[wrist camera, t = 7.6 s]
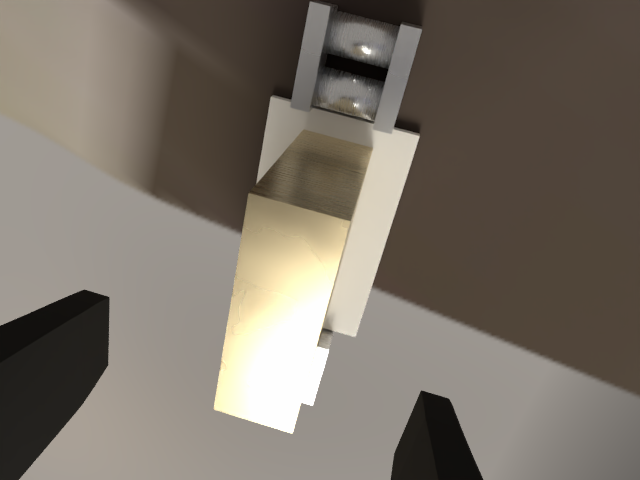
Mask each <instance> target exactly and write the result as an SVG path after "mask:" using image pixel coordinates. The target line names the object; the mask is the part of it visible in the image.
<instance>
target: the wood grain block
mask: <svg viewBox="0 0 640 480" xmlns="http://www.w3.org/2000/svg"><path fill="white" fill-rule="evenodd" d="M372 151H373V148H371V147H368V146H364V145H360V144H357V143H353V142H349V141H345V140H342V139H338V138H334V137H330V136H327V135H323V134H319V133H315V132H312V131H308V130H304V129H303V130H302V132H301V133H300V134H299V135H298V136H297V137H296V139H295V140H294V141H293V142H292V143H291V144H290V145H289V147H288V148H287V149H286V150H285V151H284V152H283V154H282V155H281V156H280V157H279V158H278V159H277V161H276V162H275V163H274V164H273V165H272V166H271V168H270V169H269V170H268V171H267V172H266V173H265V175H264V176H263V177H262V178H261V179H260V180H259V182H258V183H257V184H256V185H255V186H254V187H253V189H252V190H251V191H250V192H249V194H248V200H247V206H246V212H245V219H244V225H243V231H242V237H241V243H240V250H239V257H238V263H237V268H236V274H235V281H234V287H233V293H232V299H231V306H230V311H229V318H228V324H227V330H226V336H225V343H224V349H223V355H222V361H221V367H220V373H219V380H218V386H217V392H216V398H215V404H214V410H217V411H221V412H224V413H227V414H231V415H234V416H237V417H240V418H243V419H247V420H250V421H253V422H256V423H260V424H263V425H266V426H269V427H273V428H276V429H279V430H283V431H286V432H289V433H293V430H294V426H295V423H296V419H297V416H298V413H299V409H300V406H301V402H302V399H303V396H304V392H305V389H306V385H307V382H308V378H309V375H310V372H311V368H312V365H313V361H314V358H315V354H316V351H317V348H318V344H319V341H320V337H321V334H322V330H323V327H324V324H325V320H326V317H327V313H328V310H329V306H330V302H331V299H332V295H333V292H334V288H335V284H336V281H337V277H338V274H339V270H340V266H341V263H342V259H343V256H344V252H345V248H346V245H347V241H348V237H349V234H350V230H351V227H352V223H353V219H354V216H355V212H356V209H357V205H358V201H359V198H360V194H361V191H362V187H363V183H364V180H365V176H366V173H367V169H368V165H369V162H370V158H371V155H372Z"/></svg>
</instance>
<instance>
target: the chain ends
mask: <svg viewBox="0 0 640 480" xmlns="http://www.w3.org/2000/svg"><path fill="white" fill-rule="evenodd" d="M337 8H338V5H335V4H331V3H327V2H323V1H310V4H309V9H308V14H307V20H306V25H305V30H304V36H303V41H302V46H301V52H300V57H299V62H298V68H297V73H296V78H295V84H294V89H293V94H292V100H291V105H290V108H294V109H297V110H301V111H305V112H310V111H311V110H312V109H313V108H314V106H318V107H322V108H326V109H330V110H334V111H337V112H341V113H345V114H349V115H352V116H356V117H360V118H364V119H368V120H371V121H375V122H374V125H373V130H377V131H380V132H384V133H388V134H392V132H393V128H394V125H395V121H396V118H397V114H398V111H399V107H400V104H401V101H402V97H403V94H404V90H405V87H406V83H407V80H408V77H409V73H410V70H411V66H412V63H413V59H414V56H415V53H416V49H417V46H418V42H419V39H420V35H421V32H422V26H418V25H414V24H410V23H406V22H402V23H401V26H397V25H393V24H389V23H385V22H381V21H377V20H373V19H369V18H365V17H361V16H357V15H353V14H349V13H345V12H341V11H337ZM328 54H332V55H336V56H340V57H344V58H348V59H352V60H355V61H359V62H363V63H367V64H371V65H375V66H379V67H383V68H386V69H389V70H388V74H387V77H386V81H385V82H383V81H379V80H375V79H371V78H367V77H364V76H360V75H356V74H352V73H348V72H344V71H340V70H337V69H333V68H329V67H325V65H326V60H327V55H328ZM333 332H334V331H332V330H329V329H325V328H323V330H322V334H321V337H320V341H319V344H318V348H317V351H316V354H315V358H314V361H313V365H312V368H311V372H310V375H309V378H308V382H307V385H306V389H305V392H304V396H303V399H302V403H306V404H309V405H313V403H314V399H315V396H316V392H317V389H318V386H319V381H320V379H321V375H322V372H323V368H324V365H325V362H326V358H327V355H328V351H329V347H330V344H331V339H332V336H333Z"/></svg>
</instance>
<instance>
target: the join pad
mask: <svg viewBox="0 0 640 480" xmlns="http://www.w3.org/2000/svg"><path fill="white" fill-rule="evenodd" d="M290 105H291V100H290V99H286V98H283V97H279V96H275V95H273V96H271V99H270V105H269V111H268V117H267V123H266V129H265V135H264V140H263V146H262V152H261V158H260V164H259V170H258V176H257V182H256V184H257V183H258V182H259V180H260V179H261V178H262V177H263V176H264V175H265V173H266V172H267V171H268V170H269V169H270V168H271V166H272V165H273V164H274V163H275V162H276V161H277V159H278V158H279V157H280V156H281V155H282V154H283V152H284V151H285V150H286V149H287V148H288V147H289V145H290V144H291V143H292V142H293V141H294V140H295V139H296V137H297V136H298V135H299V134H300V133H301V132H302V130H303V129H304V130H308V131H312V132H315V133H319V134H323V135H327V136H330V137H334V138H338V139H342V140H345V141H349V142H353V143H357V144H360V145H364V146H368V147H371V148H373V151H372V155H371V158H370V162H369V165H368V169H367V173H366V176H365V180H364V183H363V187H362V191H361V194H360V198H359V201H358V205H357V209H356V212H355V216H354V219H353V223H352V227H351V230H350V234H349V237H348V241H347V245H346V248H345V252H344V256H343V259H342V263H341V266H340V270H339V274H338V277H337V281H336V284H335V288H334V292H333V295H332V299H331V302H330V306H329V310H328V313H327V317H326V320H325V324H324V327H323V328H325V329H329V330H332V331H336V332H340V333H342V334H346V335H349V336H353V337H356V334H357V331H358V328H359V325H360V322H361V318H362V316H363V312H364V309H365V306H366V303H367V300H368V296H369V294H370V290H371V287H372V284H373V281H374V278H375V275H376V272H377V269H378V265H379V262H380V259H381V256H382V253H383V250H384V247H385V243H386V240H387V237H388V234H389V231H390V228H391V225H392V222H393V218H394V215H395V212H396V209H397V206H398V203H399V200H400V196H401V193H402V190H403V187H404V184H405V181H406V178H407V175H408V171H409V168H410V165H411V162H412V159H413V156H414V153H415V149H416V146H417V143H418V140H419V137H420V134H419V133H415V132H411V131H407V130H404V129H400V128H396V127H394V128H393V132H392V134H388V133H384V132H380V131H377V130H373V125H374V122H373V121H370V120H366V119H362V118H358V117H354V116H351V115H347V114H343V113H339V112H335V111H332V110H328V109H324V108H320V107H317V106H314V108H313V109H312V110H311V111H310V112H305V111H301V110H297V109H294V108H290Z"/></svg>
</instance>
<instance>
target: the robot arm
mask: <svg viewBox="0 0 640 480" xmlns="http://www.w3.org/2000/svg"><path fill="white" fill-rule="evenodd" d="M108 341H109V297H107V296H104V295H100V294H97V293H94V292H91V291H87V290H82V291H80V292H77V293H75V294H72V295H70V296H68V297H65V298H63V299H61V300H58V301H56V302H54V303H51V304H49V305H47V306H45V307H43V308H40V309H38V310H36V311H34V312H31V313H29V314H27V315H24V316H22V317H20V318H17V319H15V320H13V321H11V322H8V323H6V324H4V325H1V326H0V480H19V479H20V478H21V476H22V475H23V474H24V473H25V472H26V470H27V469H28V468H29V467H30V466H31V465H32V464H33V462H34V461H35V460H36V459H37V458H38V457H39V455H40V454H41V453H42V452H43V450H44V449H45V448H46V447H47V446H48V445H49V444H50V442H51V441H52V440H53V439H54V438H55V437H56V435H57V434H58V433H59V432H60V431H61V429H62V428H63V427H64V426H65V425H66V423H67V422H68V421H69V420H70V419H71V418H72V416H73V415H74V414H75V413H76V411H77V410H78V409H79V408H80V407H81V405H82V404H83V403H84V401H85V400H86V398H87V397H88V395H89V394H90V392H91V391H92V389H93V388H94V387H95V385H96V383H97V382H98V380H99V379H100V377H101V375H102V374H103V372H104V371H105V369H106V368H107V366H108V345H109V342H108ZM391 480H483V478H482V476H481V473H480V471H479V469H478V467H477V464H476V462H475V460H474V458H473V455H472V453H471V451H470V448H469V446H468V444H467V441H466V439H465V436H464V434H463V431H462V429H461V426H460V424H459V421H458V419H457V416H456V414H455V411H454V408H453V406H452V403H451V402H450V400H449V399H448V398H445V397H442V396H438V395H435V394H431V393H428V392H425V391H421V392H420V394H419V397H418V399H417V401H416V404H415V406H414V409H413V411H412V413H411V416H410V418H409V420H408V423H407V425H406V427H405V430H404V432H403V434H402V437H401V439H400V441H399V444H398V446H397V448H396V451H395V453H394V460H393V467H392V475H391Z"/></svg>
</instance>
